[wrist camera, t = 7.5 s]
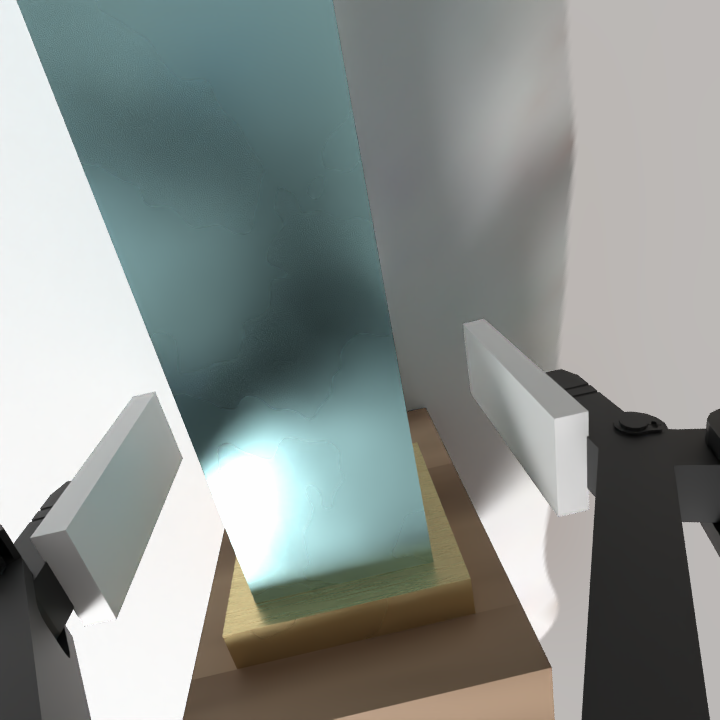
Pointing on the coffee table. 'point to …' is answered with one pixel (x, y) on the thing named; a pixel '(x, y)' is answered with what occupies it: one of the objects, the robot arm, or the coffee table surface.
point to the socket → (392, 646)
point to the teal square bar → (261, 302)
